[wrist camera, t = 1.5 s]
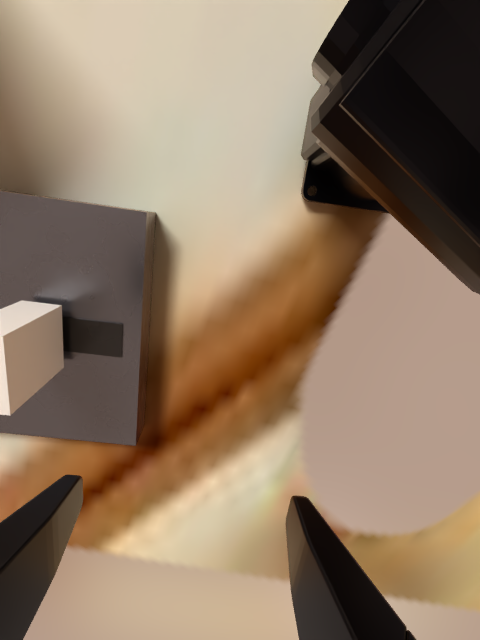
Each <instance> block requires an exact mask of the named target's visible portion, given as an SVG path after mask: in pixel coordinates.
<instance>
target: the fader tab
mask: <svg viewBox="0 0 480 640" xmlns="http://www.w3.org/2000/svg"><path fill="white" fill-rule="evenodd" d="M63 368H64V357H63V326H62V305H55V304H47V303H39V302H31V301H23V300H22V301H19V302H17V303H14V304H12V305H9V306H7V307H4V308H2V309H0V415H11V414H13V413H14V412H15V411H16V410H17V409H18V408H19V407H20V406H22V405H23V404H24V403H25V402H26V401H27V400H28V399H29V398H30V397H32V396H33V395H34V394H35V393H36V392H37V391H38V390H39V389H40V388H42V387H43V386H44V385H45V384H46V383H47V382H48V381H49V380H50V379H52V378H53V377H54V376H55V375H56V374H57V373H58V372H59V371H60V370H62V369H63Z"/></svg>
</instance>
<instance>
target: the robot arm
mask: <svg viewBox="0 0 480 640" xmlns="http://www.w3.org/2000/svg"><path fill="white" fill-rule="evenodd" d="M312 72H313V77H314V78H315V79H316V80H317V81H318V82H319V83H320V84H321V86H320V88H319V89H318V91H317V92H316V94H315V95H314V96H313V98H312V99H311V101H310V106H309V112H308V117H307V123H306V129H305V134H304V140H303V146H302V151H301V156H302V157H303V159H304V160H307V162H306V168H305V173H304V179H303V184H302V190H301V194H302V197H303V198H304V199H305V200H307V201H311V202H317V203H324V204H330V205H337V206H344V207H350V208H357V209H363V210H370V211H377V212H383V213H390V214H391V215H392V216H393V217H394V218H395V219H396V220H397V221H398V222H400V223H401V224H402V225H403V226H404V227H405V228H406V229H407V230H408V231H409V232H410V233H411V234H412V235H413V236H414V237H415V238H416V239H417V240H418V241H419V242H420V243H421V244H423V245H424V246H425V247H426V248H427V249H428V250H429V251H430V252H431V253H432V254H433V255H434V256H435V257H436V258H437V259H438V260H439V261H440V262H441V263H442V264H444V265H445V266H446V267H447V268H448V269H449V270H450V271H451V272H452V273H453V274H454V275H455V276H456V277H457V278H458V279H459V280H460V281H461V282H463V283H464V284H465V285H466V286H467V287H468V288H470V289H471V290H472V291H473V292H476V293H478V294H480V0H349V1H348V3H347V5H346V6H345V8H344V9H343V11H342V12H341V14H340V15H339V17H338V19H337V20H336V22H335V24H334V25H333V27H332V28H331V30H330V32H329V33H328V35H327V37H326V38H325V40H324V42H323V43H322V45H321V47H320V49H319V50H318V52H317V54H316V56H315V58H314V60H313V62H312ZM310 186H312V187H314V189H315V193H314V195H313V196H310V195H309V194H308V192H307V190H308V188H309V187H310ZM82 502H83V480H82V477H81V476H77V475H65V476H63V477H62V478H60V479H59V480H57V481H56V482H55V483H53V484H52V485H51V486H49V487H48V488H47V489H45V490H44V491H43V492H41V493H40V494H39V495H37V496H36V497H34V498H33V499H32V500H30V501H29V502H28V503H26V504H25V505H24V506H22V507H21V508H20V509H18V510H17V511H15V512H14V513H13V514H11V515H10V516H9V517H7V518H6V519H5V520H3V521H2V522H1V523H0V640H23V638H24V636H25V634H26V632H27V630H28V628H29V626H30V624H31V622H32V620H33V618H34V616H35V614H36V612H37V610H38V608H39V606H40V604H41V602H42V600H43V598H44V596H45V594H46V592H47V590H48V588H49V586H50V584H51V582H52V580H53V578H54V576H55V573H56V571H57V569H58V566H59V563H60V561H61V558H62V556H63V553H64V551H65V548H66V546H67V543H68V541H69V538H70V536H71V533H72V530H73V528H74V525H75V523H76V520H77V518H78V515H79V512H80V510H81V507H82ZM286 535H287V548H288V560H289V573H290V585H291V594H292V600H293V606H294V612H295V618H296V624H297V630H298V635H299V640H416V639H415V637H414V636H413V635H412V634H411V632H410V631H409V630H407V631H406V626H405V624H404V623H403V622H402V621H401V619H400V618H399V617H398V615H397V614H396V613H395V611H394V610H393V609H392V608H391V606H390V605H389V603H388V602H387V601H386V600H385V598H384V597H383V596H382V594H381V593H380V592H379V590H378V589H377V588H376V586H375V585H374V584H373V583H372V581H371V580H370V579H369V577H368V576H367V575H366V573H365V572H364V571H363V569H362V568H361V567H360V565H359V564H358V563H357V562H356V560H355V559H354V558H353V556H352V555H351V554H350V552H349V551H348V550H347V548H346V547H345V546H344V545H343V543H342V542H341V541H340V539H339V538H338V537H337V535H336V534H335V533H334V531H333V530H332V529H331V528H330V526H329V525H328V524H327V522H326V521H325V520H324V518H323V517H322V516H321V514H320V513H319V512H318V511H317V509H316V508H315V507H314V505H313V504H312V503H311V501H310V500H309V499H308V498H307V497H304V496H292V498H291V501H290V505H289V509H288V513H287V517H286Z"/></svg>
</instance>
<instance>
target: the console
mask: <svg viewBox="0 0 480 640" xmlns="http://www.w3.org/2000/svg"><path fill="white" fill-rule="evenodd" d="M155 220H156V213H155V212H148V211H141V210H134V209H127V208H120V207H113V206H106V205H99V204H92V203H86V202H79V201H72V200H65V199H58V198H51V197H44V196H37V195H30V194H23V193H16V192H9V191H3V190H0V309H2V308H4V307H7V306H9V305H12V304H14V303H17V302H19V301H22V300H23V301H31V302H39V303H47V304H55V305H62V326H63V357H64V368H63V369H62V370H60V371H59V372H58V373H57V374H56V375H55V376H54V377H53V378H52V379H50V380H49V381H48V382H47V383H46V384H45V385H44V386H43V387H42V388H40V389H39V390H38V391H37V392H36V393H35V394H34V395H33V396H32V397H30V398H29V399H28V400H27V401H26V402H25V403H24V404H23V405H22V406H20V407H19V408H18V409H17V410H16V411H15V412H14V413H13V414H11V415H0V433H11V434H21V435H31V436H42V437H52V438H62V439H73V440H83V441H93V442H103V443H114V444H124V445H134V446H136V444H137V441H138V439H139V437H140V434H141V432H142V429H143V427H144V418H145V400H146V382H147V364H148V346H149V328H150V310H151V292H152V274H153V256H154V238H155Z"/></svg>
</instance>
